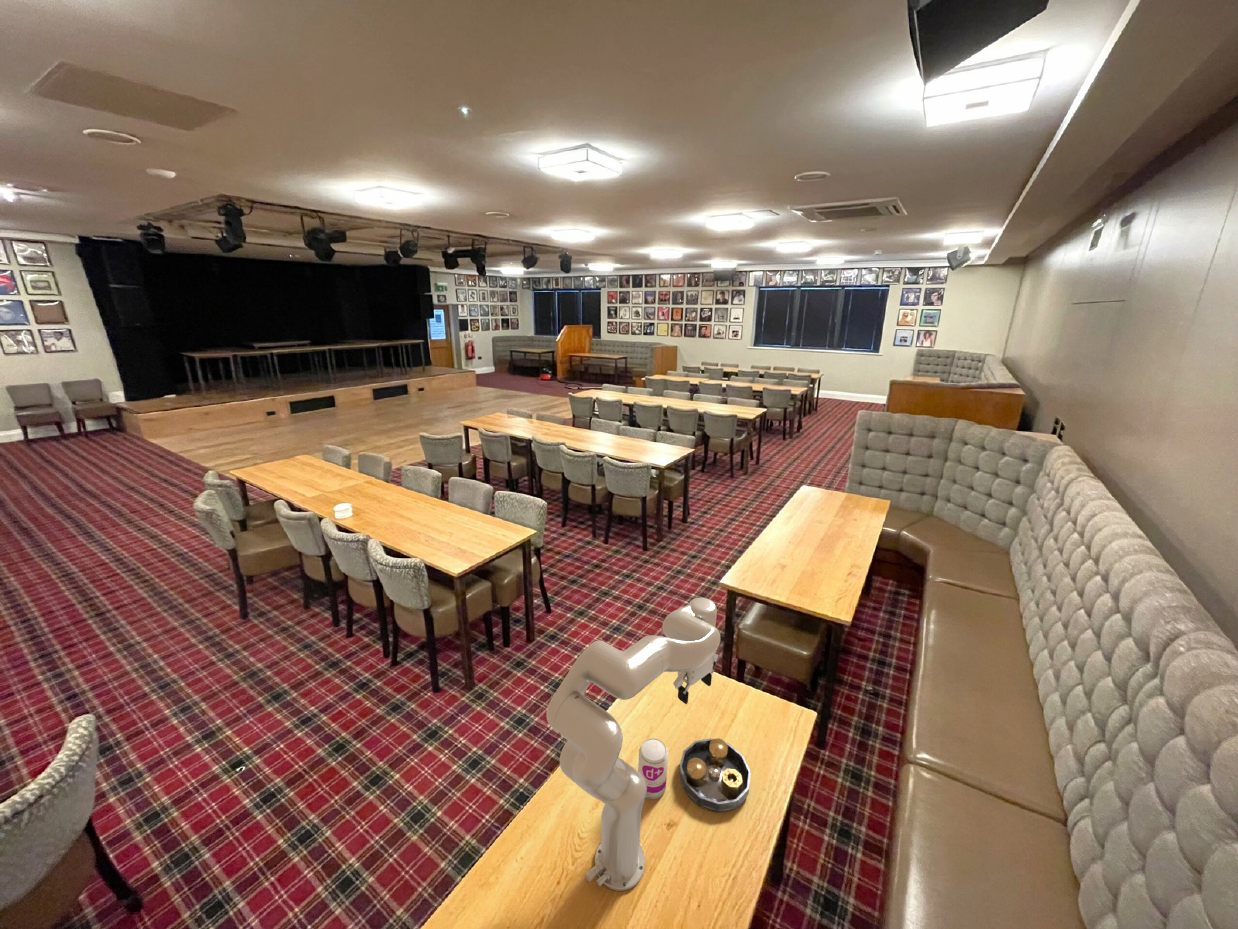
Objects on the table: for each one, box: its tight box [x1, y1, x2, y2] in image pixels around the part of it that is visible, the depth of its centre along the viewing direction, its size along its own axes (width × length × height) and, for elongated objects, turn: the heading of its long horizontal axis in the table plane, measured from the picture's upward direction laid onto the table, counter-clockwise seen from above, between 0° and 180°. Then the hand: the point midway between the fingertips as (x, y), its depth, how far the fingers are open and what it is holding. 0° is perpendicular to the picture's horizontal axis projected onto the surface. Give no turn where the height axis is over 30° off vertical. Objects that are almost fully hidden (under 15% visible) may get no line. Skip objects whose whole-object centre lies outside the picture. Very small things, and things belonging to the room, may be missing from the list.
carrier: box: [678, 738, 752, 813], centre depth 145 cm, size 20×20×6 cm
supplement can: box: [637, 737, 669, 800], centre depth 140 cm, size 8×8×15 cm
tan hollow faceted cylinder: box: [720, 769, 742, 799], centre depth 140 cm, size 5×5×5 cm
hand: (694, 691), depth 137 cm, fingers open, 9 cm apart
